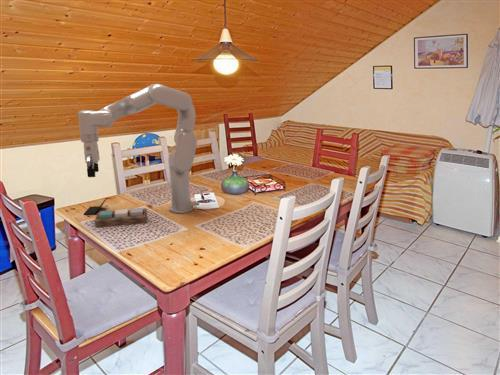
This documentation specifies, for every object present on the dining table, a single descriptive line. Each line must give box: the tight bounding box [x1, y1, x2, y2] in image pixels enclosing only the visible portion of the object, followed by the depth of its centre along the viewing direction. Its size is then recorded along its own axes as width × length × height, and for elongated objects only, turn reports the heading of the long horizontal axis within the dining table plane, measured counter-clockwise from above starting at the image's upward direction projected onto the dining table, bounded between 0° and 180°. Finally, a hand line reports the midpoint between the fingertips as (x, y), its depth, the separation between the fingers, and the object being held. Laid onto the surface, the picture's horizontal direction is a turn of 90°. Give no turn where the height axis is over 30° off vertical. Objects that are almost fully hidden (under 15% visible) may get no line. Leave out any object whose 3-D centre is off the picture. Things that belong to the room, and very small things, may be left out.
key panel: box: [94, 208, 148, 228], centre depth 183 cm, size 23×12×3 cm, turn 104°
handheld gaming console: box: [83, 198, 107, 216], centre depth 195 cm, size 12×7×10 cm
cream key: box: [114, 208, 129, 218], centre depth 182 cm, size 6×6×2 cm
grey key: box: [130, 207, 144, 216], centre depth 184 cm, size 6×6×2 cm
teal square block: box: [99, 209, 114, 219], centre depth 181 cm, size 6×6×2 cm
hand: (93, 174), depth 177 cm, fingers open, 9 cm apart
